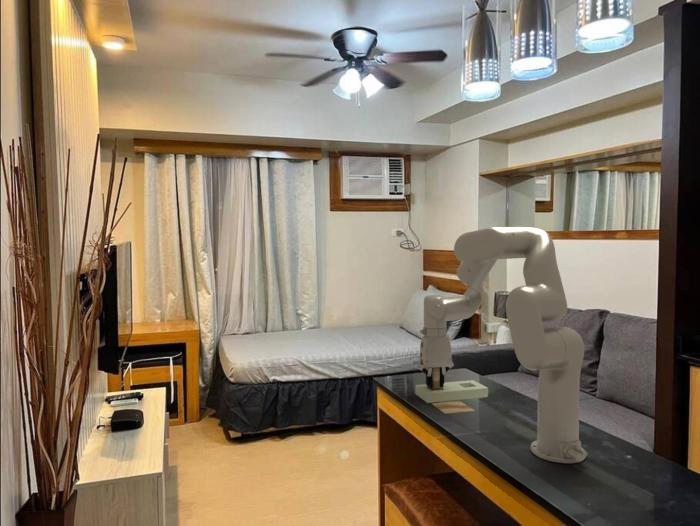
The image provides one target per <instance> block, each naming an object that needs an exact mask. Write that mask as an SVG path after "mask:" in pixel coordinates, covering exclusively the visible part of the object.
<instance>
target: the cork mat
mask: <svg viewBox="0 0 700 526" xmlns="http://www.w3.org/2000/svg"><path fill="white" fill-rule="evenodd" d="M431 405H433V406H434V407H435V408H437V409H438V410H439V411H441V412H442V413H443V414H444V415H447V414H448V415H450V414H457V413H467V412H475V411H476V410H474V409H473V408H472V407H470V406H468V405H467V404H465V403H464V402H463V401H462V400H453V401H443V402H433V403H431Z"/></svg>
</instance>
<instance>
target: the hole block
mask: <svg viewBox="0 0 700 526" xmlns="http://www.w3.org/2000/svg"><path fill="white" fill-rule="evenodd" d="M414 389H415V395H416V396H418V397H419V398H420V399H421V400H423V401H424V402H425V403H426V404H432V403H442V402H452V401H462V400H463V401H464V400H469V399H472V400H473V399H480V398H481V399H483V398H488V397H489V387H487V386H485V385H483V384H482V383H480V382H478V381H475V380H474V379H471V380H460V381H458V380H457V381H446V382H444V387H440V390H434V391H431V390H430V388H429V387H428V386H427V385H426V383H424V384H416V385H415V388H414Z"/></svg>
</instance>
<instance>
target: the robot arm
mask: <svg viewBox="0 0 700 526" xmlns="http://www.w3.org/2000/svg"><path fill="white" fill-rule="evenodd" d="M555 248H556V247H555V243H554V240H553V239H552V237H551V235H550V234H549V233H548V232H547V231H546V230H543V229H542V228H538V227H531V226H530V227H529V226H492V227H487V228H482V229H478V230H473V231H468V232H464V233H462V234H461V235H459V236H458V237H457V239H456V240H455V242H454V246H453V253H454V256H455V258H456V259H457V260H458V261H459V262H460V264H459V266H457V268H456V277H457V278H458V280H459V281H460V282H461V283H462V284H464V285H465V286H467V287H468V288H467V289H466V290H465V292H464V293H463V295H460V296H459V295H458V296H447V297H446V296H444V295H438V294H437V295H436V294H434V295H433V294H432V295H430V294H429V295H426V296H425V297H424V298H423V327H422V329H420V331H419V334H420V335H422V336H421V340H420V347H419V357H418V358H419V360H418V362H417V363H416V365H415V366H416V367H415V368H416V369H418V370H420V371H421V372H422V373H423V374H424V375H425V384H426V385H427V386H428V387H429V388H433V377H432V376H431V371H432V368H437V367H440V387H444V383H445V376H447V375H446V374H447V372H448V371H449V370H450V369H451V368H453V367H454V366H455V364H454V362H453V357H452V355H453V353H452V346H451V341H450V336H449V335H447V322H451V321H458V320H467V319H470V318H472V316H473V315H474V314H475V313H476V312H477V311H478V309H480V306H481V305H482V303H483V302H484V298H485V297H484V296H485V288H484V287H485V286H484V281H485V279H486V278H487V276H488V275H489V273H490V272H491V270H492V268H493V267H494V266H495V264H496V262H497V261H498V260H508V259H510V260H512V259H525V260H524V263H523V269H522V270H523V271H522V273H523V274H522V275H523V279H524V282H525V285H521V286H517V287H515V288H514V289H512V290H511V291H510V292H509V294H508V295H507V298H506V300H505V313H506V314H505V315H506V318H507V322H508V323H507V324H508V327H509V332H510V336H511V341H512V345H513V350H514V353H515V355H516V359H517V360H518V362H519V363H520V364H521V365H522V366H523V367H524V368H526V369H527V370H531V371H539V374H538V379H537V380H538V381H537V436H536V437H537V438H536V440H534V441H533V442H531V443H530V450H531V451H530V452H532V453H533V454H534V455H535V456H536V457H538V458H539V459H542V460H545V461H548V462H552V463H559V464H576V463H581V462H583V461H584V460H585V459H586V457H587V456H588V452H587V450H585V449H584V448H583V447H582V441H581V440H580V439H579V438H580V383H581V371H582V367H583V361H584V356H585V344H584V341H583V338H582V336H581V335H580V333H579V332H577V331H576V330H575V329H573V328H571V327H568V326H552V327H543V323H544V324H545V323H552V322H557V321H560V320H561V319H563V318H564V317H566V315H567V313H568V302H567V298H566V294H565V290H564V285H563V282H562V277H561V274H560V270H559V266H558V261H557V255H556V249H555ZM423 366H424V367H423Z"/></svg>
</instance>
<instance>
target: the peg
mask: <svg viewBox="0 0 700 526" xmlns="http://www.w3.org/2000/svg"><path fill="white" fill-rule="evenodd" d="M431 376H432V377H433V388H430V390H431V391H434V390H440V367H437V368H432V371H431Z"/></svg>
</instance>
